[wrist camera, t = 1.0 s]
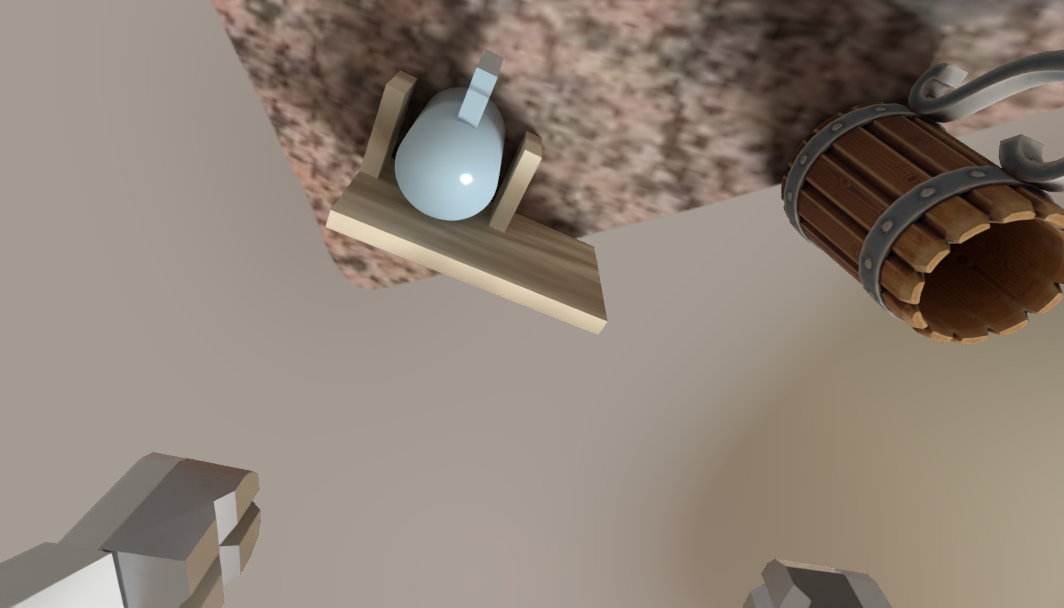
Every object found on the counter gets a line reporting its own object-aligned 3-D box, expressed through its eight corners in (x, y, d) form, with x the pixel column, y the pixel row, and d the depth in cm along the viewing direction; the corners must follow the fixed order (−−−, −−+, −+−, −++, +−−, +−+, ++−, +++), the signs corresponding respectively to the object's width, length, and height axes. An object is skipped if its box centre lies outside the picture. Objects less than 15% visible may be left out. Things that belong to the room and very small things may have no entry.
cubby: (400, 70, 36) (358, 111, 27) (633, 182, 40) (658, 247, 32) (370, 165, 39) (325, 227, 31) (586, 258, 44) (598, 334, 35)
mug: (862, 254, 43) (993, 383, 31) (748, 212, 41) (839, 332, 29) (1025, 55, 35) (1294, 123, 22) (891, -9, 33) (1105, 26, 20)
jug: (453, 25, 34) (432, 47, 27) (538, 69, 35) (538, 100, 29) (408, 151, 39) (382, 196, 32) (485, 185, 40) (475, 235, 34)
